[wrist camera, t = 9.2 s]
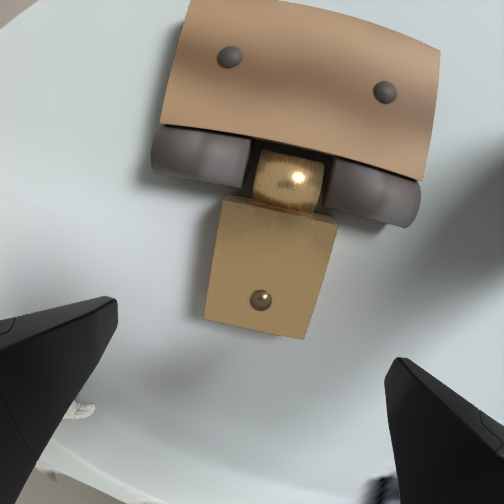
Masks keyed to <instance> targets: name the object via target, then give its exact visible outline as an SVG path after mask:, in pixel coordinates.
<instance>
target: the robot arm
mask: <svg viewBox="0 0 504 504" xmlns="http://www.w3.org/2000/svg"><path fill="white" fill-rule="evenodd" d="M117 325H118V304H117V300H116V299H114V298H111V297H108V296H102V297H98V298H94V299H90V300H86V301H81V302H77V303H73V304H69V305H65V306H60V307H56V308H52V309H48V310H43V311H39V312H35V313H31V314H26V315H22V316H18V317H17V318H16V317H13V318H9V319H5V320H0V504H15V502H16V500H17V498H18V496H19V494H20V492H21V490H22V489H23V487H24V484H25V483H26V481H27V479H28V477H29V475H30V474H31V472H32V470H33V468H34V467H35V465H36V462H37V461H38V459H39V457H40V456H41V454H42V452H43V450H44V449H45V447H46V445H47V443H48V442H49V440H50V438H51V437H52V435H53V433H54V432H55V430H56V428H57V427H58V425H59V423H60V422H61V420H62V419H63V417H64V415H65V414H66V412H67V411H68V409H69V407H70V406H71V404H72V403H73V401H74V399H75V398H76V396H77V395H78V393H79V392H80V390H81V389H82V387H83V385H84V384H85V382H86V381H87V379H88V378H89V376H90V375H91V373H92V372H93V370H94V369H95V367H96V366H97V364H98V362H99V361H100V359H101V357H102V355H103V353H104V351H105V349H106V347H107V345H108V343H109V341H110V339H111V338H112V336H113V334H114V332H115V330H116V328H117ZM384 386H385V395H386V406H387V417H388V424H389V430H390V435H391V441H392V447H393V453H394V459H395V465H396V472H397V479H398V487H399V495H400V503H401V504H504V426H503V425H501V424H500V423H498V422H497V421H495V420H494V419H492V418H491V417H489V416H488V415H487V414H485V413H484V412H482V411H481V410H478V408H477V407H475V406H474V405H473V404H471V403H470V402H468V401H467V400H466V399H464V398H463V397H461V396H460V395H459V394H457V393H456V392H454V391H453V390H452V389H450V388H449V387H447V386H446V385H445V384H443V383H442V382H440V381H439V380H438V379H436V378H435V377H433V376H432V375H431V374H429V373H428V372H426V371H425V370H424V369H422V368H421V367H419V366H418V365H417V364H415V363H414V362H412V361H411V360H410V359H408V358H402V357H397V358H396V359H395V360H394V361H393V363H392V365H391V367H390V369H389V371H388V373H387V375H386V377H385V380H384Z"/></svg>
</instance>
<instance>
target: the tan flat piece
mask: <svg viewBox="0 0 504 504" xmlns="http://www.w3.org/2000/svg"><path fill="white" fill-rule="evenodd" d="M439 66H440V50H438V49H436V48H433V47H431V46H429V45H427V44H425V43H423V42H420V41H418V40H416V39H413V38H411V37H409V36H406V35H404V34H401V33H399V32H396V31H393V30H391V29H388V28H385V27H382V26H380V25H377V24H374V23H371V22H368V21H365V20H361V19H358V18H355V17H351V16H348V15H344V14H341V13H337V12H333V11H329V10H325V9H320V8H316V7H311V6H306V5H301V4H296V3H290V2H284V1H278V0H191V2H190V5H189V8H188V11H187V14H186V17H185V20H184V24H183V27H182V31H181V34H180V37H179V41H178V45H177V48H176V52H175V56H174V60H173V64H172V68H171V72H170V76H169V80H168V84H167V89H166V93H165V98H164V102H163V107H162V112H161V117H160V122H159V123H161V124H165V125H163V126H161V127H160V129H159V130H158V132H157V133H156V136H155V138H154V141H153V145H152V150H151V166H152V170H153V172H154V173H155V174H159V175H166V176H172V177H178V178H184V179H190V180H196V181H201V182H207V183H212V184H218V185H223V186H228V187H234V188H239V189H242V188H243V186H244V183H245V180H246V176H247V172H248V168H249V163H250V158H251V152H252V143H253V139H256V140H262V141H267V142H272V143H277V144H282V145H286V146H291V147H295V148H300V149H304V150H308V151H313V152H317V153H321V154H325V155H329V156H333V158H332V160H331V162H330V165H329V168H328V171H327V175H326V179H325V184H324V189H323V197H322V204H323V207H326V208H330V209H334V210H338V211H342V212H346V213H350V214H354V215H358V216H362V217H365V218H369V219H373V220H377V221H380V222H384V223H388V224H391V225H395V226H399V227H402V228H407V227H409V226H410V225H411V224H412V222H413V221H414V219H415V217H416V215H417V212H418V209H419V205H420V199H421V191H420V186H419V183H418V182H417V181H416V180H418V181H422V179H423V175H424V170H425V165H426V161H427V155H428V150H429V145H430V139H431V133H432V127H433V121H434V114H435V106H436V98H437V89H438V79H439Z"/></svg>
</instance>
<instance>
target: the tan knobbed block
mask: <svg viewBox="0 0 504 504" xmlns="http://www.w3.org/2000/svg"><path fill="white" fill-rule="evenodd" d="M323 173H324V164H323V163H321V162H317V161H313V160H308V159H304V158H300V157H296V156H291V155H287V154H282V153H278V152H273V151H268V150H262V152H261V155H260V159H259V163H258V167H257V171H256V176H255V181H254V187H253V193H252V199H251V198H246V197H241V196H236V195H231V194H230V195H229V196H227V197H226V198H225V199H224V200H223V202H222V208H221V213H220V219H219V225H218V230H217V236H216V242H215V248H214V254H213V260H212V266H211V273H210V279H209V285H208V292H207V298H206V305H205V312H204V319H207V320H211V321H216V322H220V323H224V324H228V325H233V326H237V327H242V328H246V329H251V330H256V331H261V332H265V333H270V334H275V335H281V336H286V337H291V338H296V339H302V340H304V337H305V334H306V331H307V328H308V325H309V322H310V319H311V316H312V313H313V310H314V307H315V304H316V301H317V298H318V295H319V291H320V288H321V285H322V282H323V278H324V275H325V272H326V268H327V265H328V262H329V258H330V255H331V251H332V248H333V244H334V240H335V237H336V233H337V229H338V224H337V223H336V222H335V221H334V220H333V218H332V217H330V216H326V215H322V214H318V213H314V210H315V208H316V205H317V202H318V199H319V195H320V191H321V186H322V181H323Z"/></svg>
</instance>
